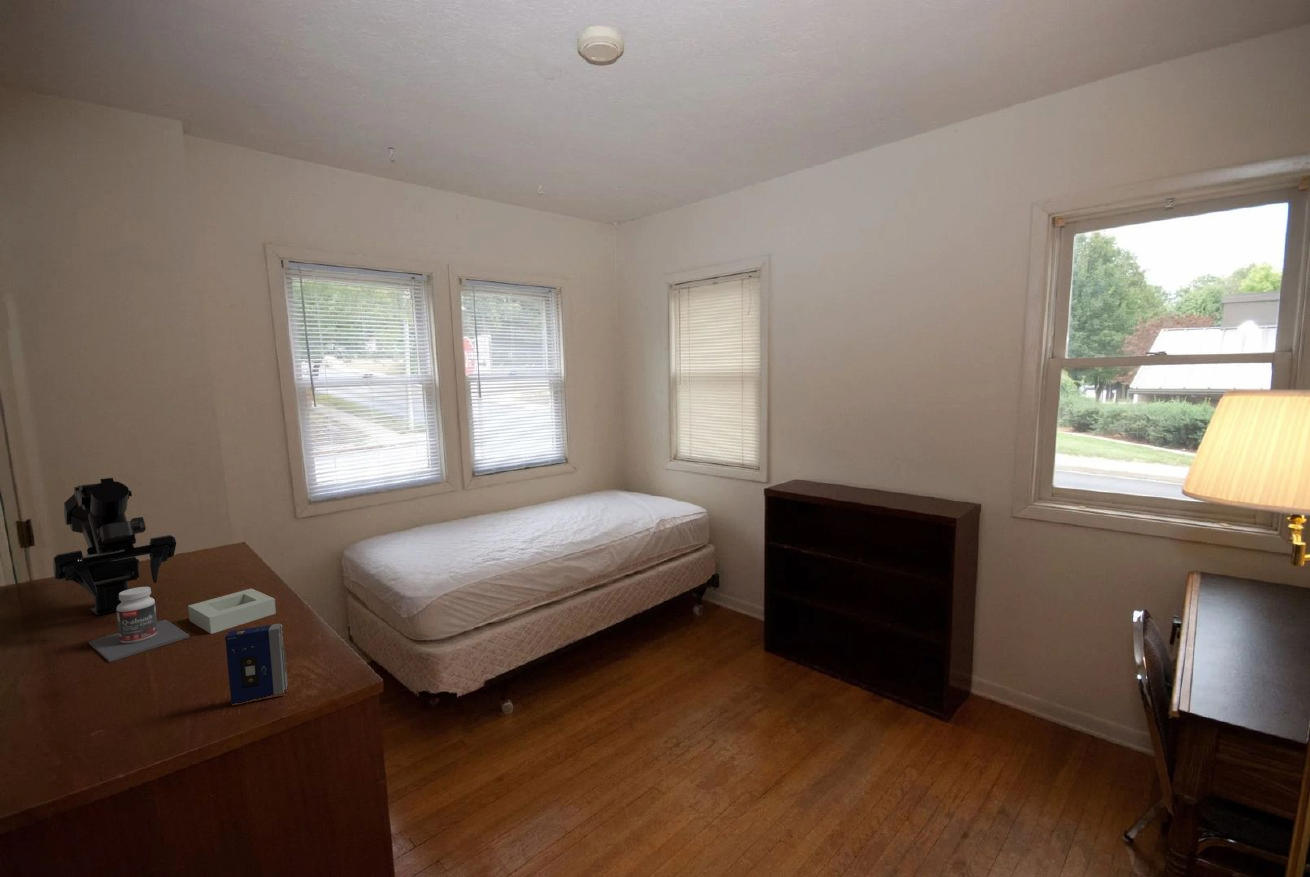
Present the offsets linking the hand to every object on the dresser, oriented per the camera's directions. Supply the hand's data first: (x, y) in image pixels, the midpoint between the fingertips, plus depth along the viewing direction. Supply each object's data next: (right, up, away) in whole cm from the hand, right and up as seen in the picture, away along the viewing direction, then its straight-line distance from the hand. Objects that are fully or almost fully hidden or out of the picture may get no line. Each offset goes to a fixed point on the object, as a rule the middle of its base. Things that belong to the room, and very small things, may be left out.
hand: (126, 588), depth 115 cm
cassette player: (+46, -11, -25) cm, 54 cm away
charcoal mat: (+7, -9, -4) cm, 12 cm away
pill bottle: (+7, -9, -4) cm, 12 cm away
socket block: (+17, -8, +7) cm, 20 cm away
